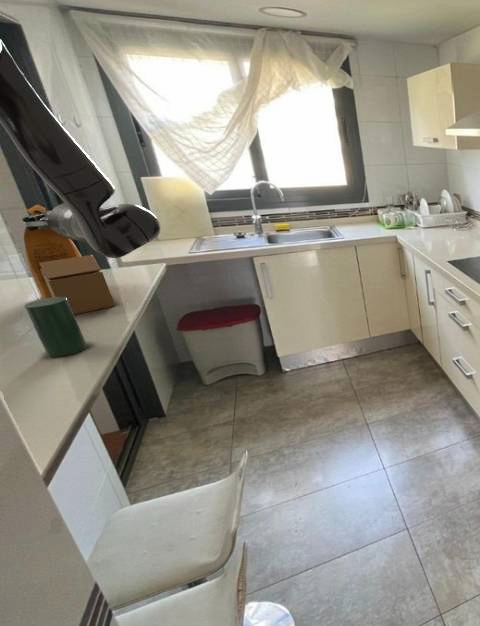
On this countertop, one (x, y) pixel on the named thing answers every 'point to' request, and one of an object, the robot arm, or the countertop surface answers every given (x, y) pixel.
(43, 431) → the countertop surface
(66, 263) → the flap
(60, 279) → the carton
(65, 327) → the tea tin
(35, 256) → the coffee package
